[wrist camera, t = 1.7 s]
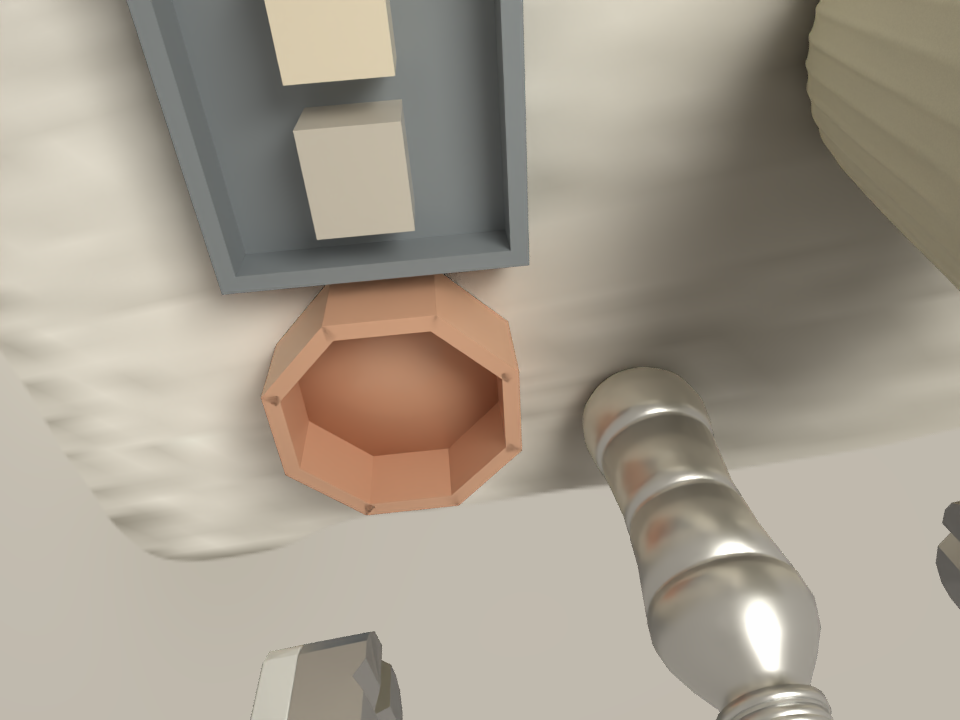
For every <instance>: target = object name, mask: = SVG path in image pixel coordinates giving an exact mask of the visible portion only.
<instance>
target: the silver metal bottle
mask: <svg viewBox="0 0 960 720" xmlns="http://www.w3.org/2000/svg"><path fill="white" fill-rule="evenodd" d="M583 430H584V439H585V444H586V446H587V449H588V451H589V453H590V455H591V456H592V458H593V460H594V462H595V464H596V466H597V467H598V469H599V470H600V472H601V473H602V474H603V476H604V477H605V478H606V480H607V482H608V484H609V486H610V488H611V490H612V492H613V494H614V497H615V499H616V501H617V503H618V505H619V507H620V510H621V512H622V514H623V516H624V519H625V523H626V526H627V530H628V533H629V535H630V540H631V544H632V547H633V551H634V555H635V558H636V562H637V565H638V570H639V576H640V582H641V588H642V593H643V600H644V606H645V612H646V617H647V624H648V628H649V632H650V636H651V640H652V644H653V646H654V648H655V650H656V652H657V654H658V655H659V656H660V658H661V659H662V661H663V662H664V664H665V665H666V667H667V668H668V669H669V671H670V672H671V673H672V674H674V675H675V676H676V677H677V678H678V679H679V680H680V681H681V682H682V683H684V684H685V685H686V686H687V687H688V688H689V689H690V690H691V691H693V692H694V693H695V694H696V695H698V696H699V697H701V698H702V699H704V700H705V701H706V702H708V703H709V704H711V705H712V706H713V707H715V708H716V709H718V710H719V712H720V713H719V714H718V717H717V719H716V720H833V718H832V716H831V707H830V705H829V703H828V701H827V699H826V697H825V695H824V694H823V693H822V691H820V690H819V689H817V688H815V687H812V686H811V684H810V683H811V679H812V675H813V671H814V667H815V663H816V659H817V653H818V646H819V638H820V630H821V625H820V620H819V616H818V611H817V607H816V602H815V598H814V596H813V594H812V593H811V591H810V589H809V588H808V587H807V585H806V584H805V582H804V581H803V579H802V578H801V576H800V575H799V573H798V572H797V571H796V570H795V569H794V567H793V565H792V564H791V563H790V562H789V560H788V559H787V558H786V557H785V555H784V554H783V553H782V551H781V550H780V549H779V548H778V546H777V545H776V544H775V543H774V542H773V540H772V539H771V538H770V536H769V535H768V534H767V532H766V531H765V530H764V529H763V527H762V526H761V525H760V524H759V522H758V521H757V519H756V518H755V516H754V514H753V513H752V511H751V510H750V508H749V507H748V505H747V503H746V502H745V500H744V499H743V498H742V496H741V494H740V492H739V491H738V489H737V488H736V486H735V485H734V483H733V481H732V480H731V477H730V475H729V472H728V470H727V468H726V465H725V463H724V461H723V458H722V456H721V454H720V451H719V449H718V447H717V444H716V442H715V440H714V434H713V430H712V426H711V422H710V419H709V416H708V413H707V411H706V408H705V405H704V402H703V401H702V399H701V398H700V396H699V395H698V394H697V393H696V392H695V391H694V389H693V388H692V387H691V386H690V385H689V384H688V383H687V382H686V381H685V380H684V379H682V378H681V377H680V376H678V375H677V374H675V373H673V372H670V371H667V370H664V369H659V368H652V367H635V368H630V369H626V370H623V371H621V372H618V373H616V374H614V375H612V376H610V377H609V378H607V379H606V380H605V381H603V382H602V383H601V384H600V385H599V386H598V387H597V388H596V389H595V391H594V392H593V394H592V395H591V397H590V398H589V400H588V401H587V403H586V406H585V408H584V411H583Z"/></svg>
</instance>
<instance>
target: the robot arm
mask: <svg viewBox="0 0 960 720" xmlns="http://www.w3.org/2000/svg"><path fill="white" fill-rule="evenodd" d="M942 523H943V525H944V526H945V527H946V528H947V529H948V530H949V531H950V532H951V533H950V534H949V535H948V536H947V537H946V538H945V539H944V540H943V541H942V542H941V543H940V544H939V545H938V549H937V558H936V565H937V569H938V572H939V576H940V579H941V582H942V584H943V586H944V588H945V589H946V591H947V593H948V595H949V596H950V598H951V599H952V600H953V601H954V603H955V604H956V605H957V606H958V608H959V609H960V501H957V502H953V503H951V504H950V505H949V506H948V507H947V508H946V509H945V513H944V517H943V522H942ZM381 659H382V645H381V643H380V641H379V639H378V637H377V635H376V633H375V632H367V633H362V634H357V635H352V636H346V637H341V638H336V639H331V640H325V641H320V642H315V643H310V644H304V645H300V646H295V647H290V648H285V649H281V650H276V651H271V652H269V653H268V655H267V657H266V659H265V661H264V663H263V664H262V668H261V673H260V678H259V682H258V687H257V691H256V696H255V701H254V705H253V710H252V714H251V719H250V720H402V705H401V696H400V689H399V686H398V682H397V678H396V675H395V673H394V671H393V668H392V666H391V665H390V664H388V663H386V662H384V661H382V660H381Z"/></svg>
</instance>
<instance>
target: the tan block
mask: <svg viewBox="0 0 960 720" xmlns="http://www.w3.org/2000/svg"><path fill="white" fill-rule="evenodd" d="M264 1H265V6H266V10H267V15H268V19H269V24H270V28H271V33H272V38H273V42H274V47H275V51H276V56H277V60H278V65H279V69H280V74H281V78H282V83H283V86H285V85H296V84H308V83H319V82H331V81H343V80H354V79H366V78H377V77H389V76H395V72H396V60H397V56H396V48H395V40H394V32H393V24H392V16H391V8H390V0H264Z"/></svg>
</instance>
